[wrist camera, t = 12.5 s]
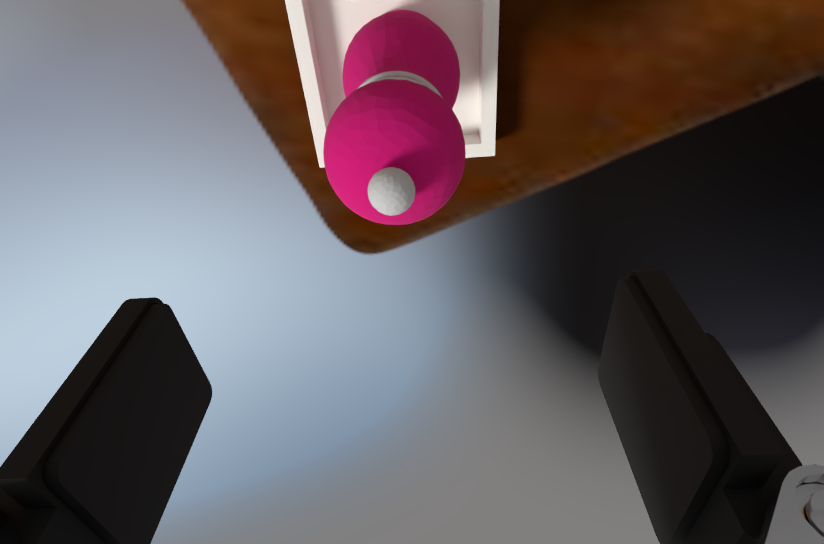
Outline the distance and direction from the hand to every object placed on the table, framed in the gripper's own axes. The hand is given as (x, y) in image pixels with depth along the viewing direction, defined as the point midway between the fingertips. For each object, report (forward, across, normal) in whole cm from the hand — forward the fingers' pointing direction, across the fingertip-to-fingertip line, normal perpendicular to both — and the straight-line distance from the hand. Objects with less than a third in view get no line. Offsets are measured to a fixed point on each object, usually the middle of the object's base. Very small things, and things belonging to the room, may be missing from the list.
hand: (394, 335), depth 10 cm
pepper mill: (+28, +1, +1) cm, 28 cm away
